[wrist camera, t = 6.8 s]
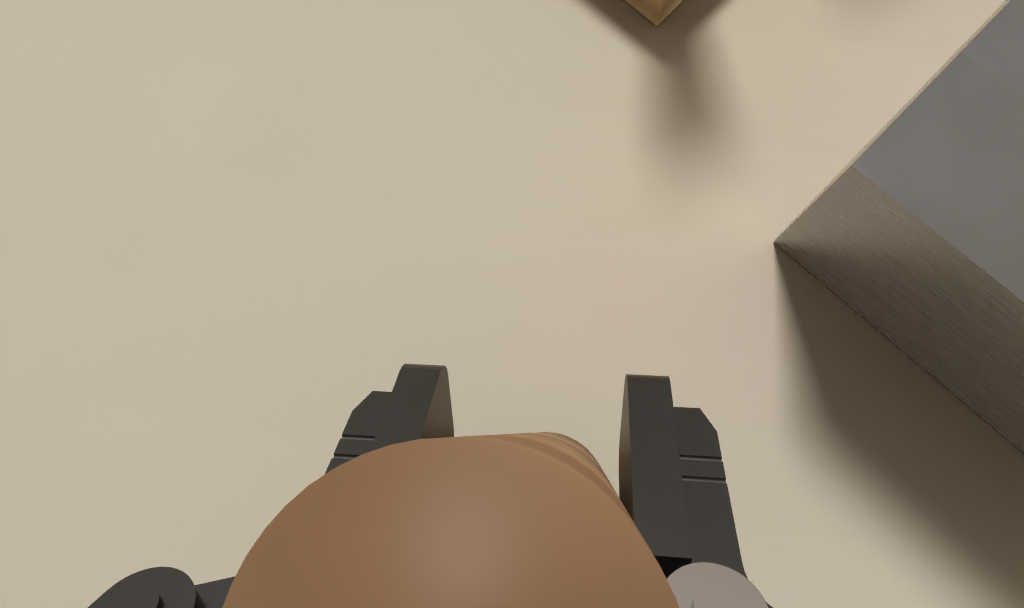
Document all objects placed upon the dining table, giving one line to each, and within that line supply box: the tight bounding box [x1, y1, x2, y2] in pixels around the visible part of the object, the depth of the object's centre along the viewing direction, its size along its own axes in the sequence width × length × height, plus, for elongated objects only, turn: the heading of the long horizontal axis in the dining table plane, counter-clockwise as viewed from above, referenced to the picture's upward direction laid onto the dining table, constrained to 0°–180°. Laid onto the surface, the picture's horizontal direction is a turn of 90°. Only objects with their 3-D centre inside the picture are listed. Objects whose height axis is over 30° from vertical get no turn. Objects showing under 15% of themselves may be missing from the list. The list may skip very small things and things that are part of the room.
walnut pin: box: [222, 432, 679, 608], centre depth 11 cm, size 3×3×14 cm
